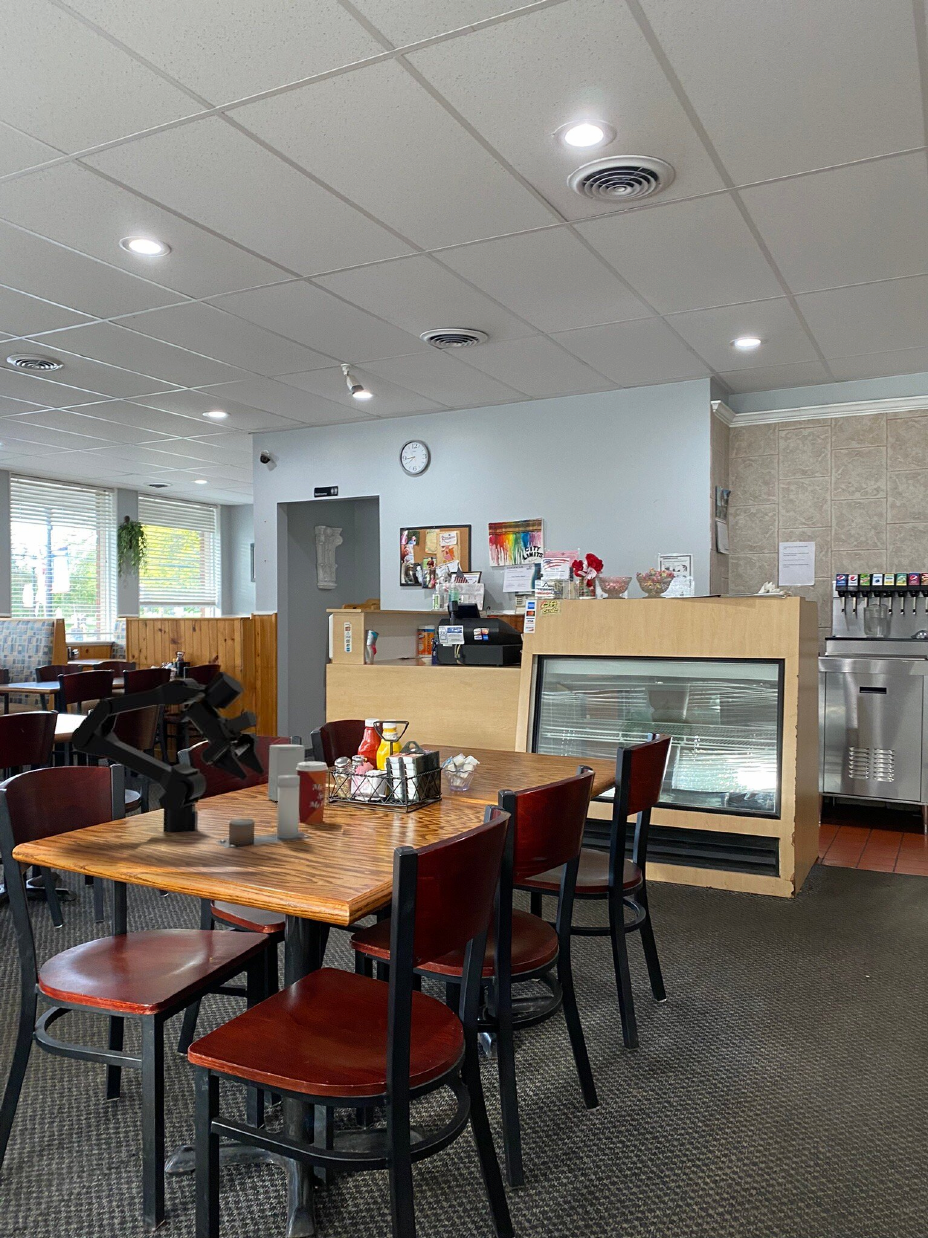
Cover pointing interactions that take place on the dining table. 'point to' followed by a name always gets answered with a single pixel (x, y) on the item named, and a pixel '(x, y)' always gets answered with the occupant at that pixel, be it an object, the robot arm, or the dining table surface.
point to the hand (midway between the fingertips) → (254, 776)
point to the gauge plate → (264, 840)
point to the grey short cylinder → (241, 831)
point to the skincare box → (283, 765)
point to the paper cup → (311, 791)
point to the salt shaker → (288, 806)
